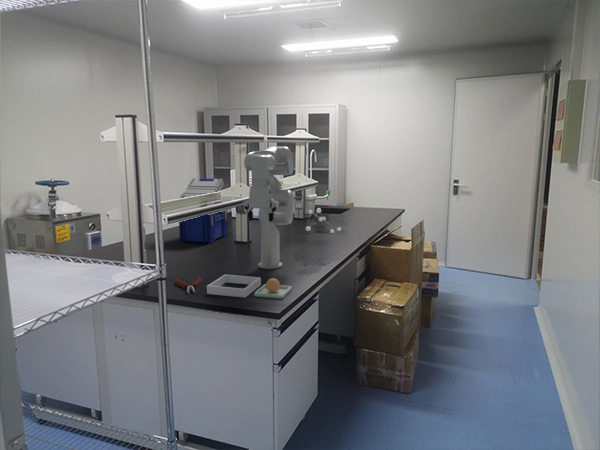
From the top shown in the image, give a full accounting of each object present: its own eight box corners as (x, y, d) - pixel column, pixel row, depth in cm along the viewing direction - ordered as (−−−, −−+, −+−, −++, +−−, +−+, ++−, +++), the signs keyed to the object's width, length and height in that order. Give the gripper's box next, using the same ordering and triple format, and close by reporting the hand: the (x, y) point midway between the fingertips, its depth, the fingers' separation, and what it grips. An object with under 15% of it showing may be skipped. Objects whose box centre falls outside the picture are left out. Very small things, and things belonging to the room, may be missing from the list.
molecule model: (308, 232, 335) (310, 208, 336) (341, 235, 327) (343, 210, 328) (302, 230, 321) (305, 205, 322) (336, 233, 314) (339, 208, 315)
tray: (264, 287, 201) (264, 283, 200) (291, 289, 197) (291, 286, 197) (254, 296, 189) (254, 292, 189) (282, 299, 185) (282, 295, 185)
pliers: (177, 297, 190) (177, 291, 189) (175, 283, 209) (175, 277, 208) (205, 294, 193) (204, 288, 193) (201, 281, 212) (200, 275, 212)
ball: (269, 289, 197) (268, 276, 195) (282, 290, 195) (281, 276, 194) (264, 293, 191) (263, 280, 190) (277, 294, 189) (277, 281, 188)
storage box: (209, 244, 285) (207, 181, 278) (177, 243, 291) (173, 180, 284) (228, 235, 313) (227, 178, 306) (198, 234, 319) (196, 177, 311)
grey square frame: (225, 281, 209) (225, 274, 208) (260, 284, 204) (260, 277, 203) (207, 293, 192) (206, 285, 192) (245, 297, 187) (245, 289, 187)
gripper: (281, 182, 203) (281, 220, 206) (245, 182, 208) (246, 218, 211) (275, 184, 196) (276, 223, 199) (238, 183, 201) (240, 221, 204)
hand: (260, 220), depth 205 cm, fingers open, 9 cm apart
